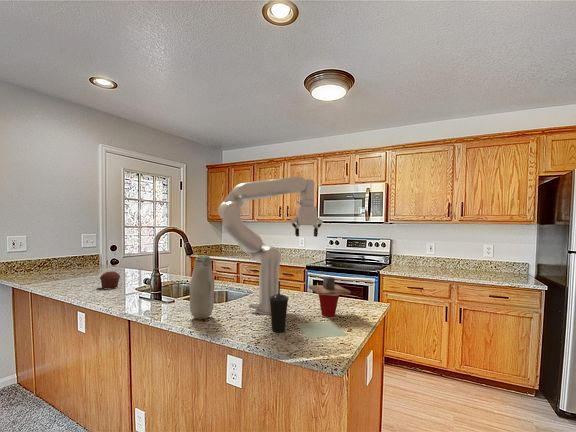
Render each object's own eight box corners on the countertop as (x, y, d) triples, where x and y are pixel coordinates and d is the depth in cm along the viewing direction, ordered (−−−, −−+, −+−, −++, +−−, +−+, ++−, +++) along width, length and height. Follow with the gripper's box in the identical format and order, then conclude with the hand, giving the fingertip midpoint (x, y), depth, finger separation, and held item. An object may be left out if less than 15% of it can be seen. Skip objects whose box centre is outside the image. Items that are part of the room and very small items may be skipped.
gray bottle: (184, 320, 130) (186, 255, 130) (199, 313, 139) (201, 253, 140) (203, 323, 126) (204, 257, 127) (217, 316, 136) (218, 254, 136)
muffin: (107, 290, 184) (107, 273, 184) (94, 288, 188) (95, 272, 188) (124, 286, 195) (124, 271, 195) (112, 285, 199) (112, 270, 199)
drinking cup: (272, 337, 111) (273, 283, 112) (266, 330, 118) (266, 280, 119) (291, 334, 115) (292, 282, 115) (283, 328, 122) (284, 279, 122)
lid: (318, 295, 129) (319, 281, 129) (308, 287, 143) (308, 275, 144) (350, 293, 132) (350, 280, 133) (337, 286, 147) (337, 274, 147)
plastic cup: (340, 321, 131) (340, 294, 131) (315, 319, 133) (316, 292, 134) (340, 314, 142) (341, 288, 142) (318, 312, 144) (318, 287, 144)
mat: (308, 340, 109) (308, 338, 109) (296, 325, 124) (296, 323, 125) (348, 337, 113) (348, 335, 113) (332, 323, 128) (332, 321, 128)
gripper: (292, 202, 148) (292, 236, 148) (325, 203, 152) (324, 236, 152) (288, 203, 156) (288, 236, 155) (320, 204, 160) (319, 236, 159)
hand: (306, 236), depth 154 cm, fingers open, 9 cm apart
